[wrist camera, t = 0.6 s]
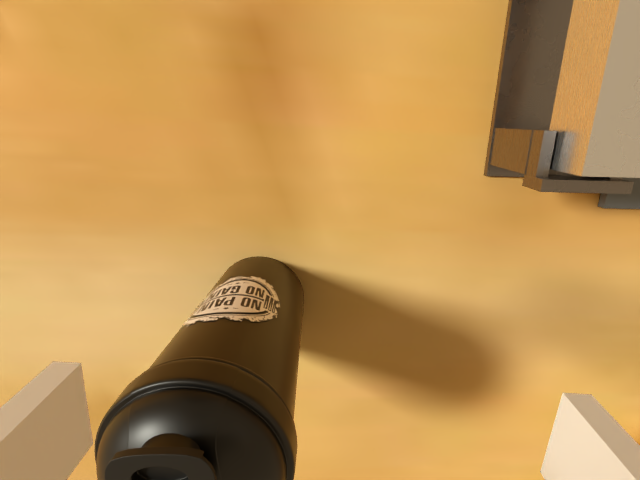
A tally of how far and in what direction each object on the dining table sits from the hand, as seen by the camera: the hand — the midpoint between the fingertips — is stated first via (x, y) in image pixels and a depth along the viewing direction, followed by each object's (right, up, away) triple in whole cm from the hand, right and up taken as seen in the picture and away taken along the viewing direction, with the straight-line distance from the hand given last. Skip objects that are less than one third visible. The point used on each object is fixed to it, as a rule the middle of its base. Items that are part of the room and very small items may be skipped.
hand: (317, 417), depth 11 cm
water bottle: (-6, -1, +28) cm, 29 cm away
